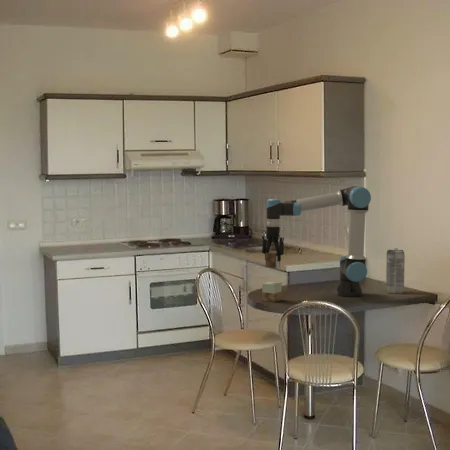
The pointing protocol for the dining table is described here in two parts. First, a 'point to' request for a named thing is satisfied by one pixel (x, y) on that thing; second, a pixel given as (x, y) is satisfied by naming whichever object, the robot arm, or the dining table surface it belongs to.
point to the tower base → (271, 296)
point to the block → (271, 260)
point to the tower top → (271, 287)
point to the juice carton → (395, 271)
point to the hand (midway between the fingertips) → (272, 266)
